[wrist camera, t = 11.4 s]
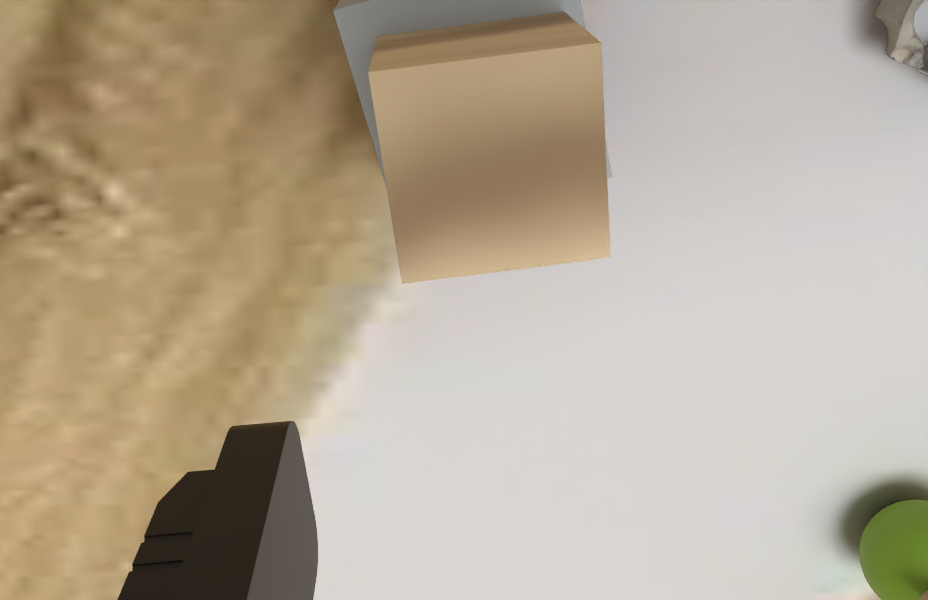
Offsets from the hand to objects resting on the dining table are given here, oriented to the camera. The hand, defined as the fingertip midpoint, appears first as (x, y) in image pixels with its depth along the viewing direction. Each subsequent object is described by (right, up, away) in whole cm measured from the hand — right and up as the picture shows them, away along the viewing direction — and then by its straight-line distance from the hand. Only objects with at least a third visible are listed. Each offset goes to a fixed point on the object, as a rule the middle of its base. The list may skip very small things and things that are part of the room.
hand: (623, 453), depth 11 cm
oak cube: (-1, +7, +16) cm, 18 cm away
